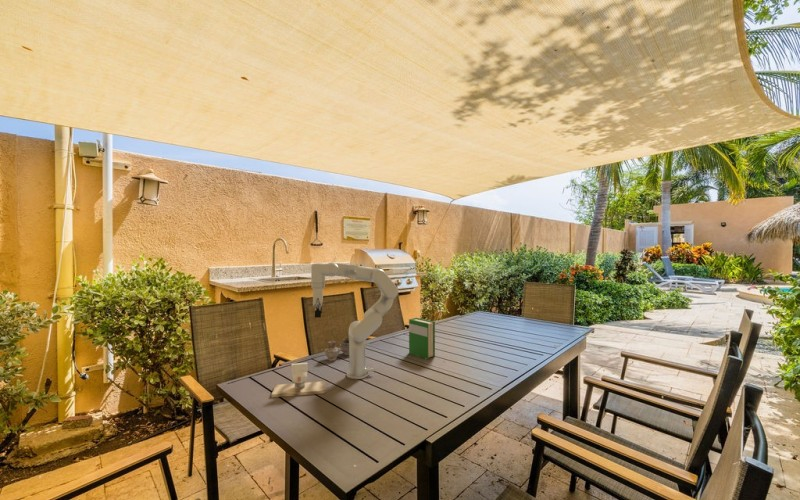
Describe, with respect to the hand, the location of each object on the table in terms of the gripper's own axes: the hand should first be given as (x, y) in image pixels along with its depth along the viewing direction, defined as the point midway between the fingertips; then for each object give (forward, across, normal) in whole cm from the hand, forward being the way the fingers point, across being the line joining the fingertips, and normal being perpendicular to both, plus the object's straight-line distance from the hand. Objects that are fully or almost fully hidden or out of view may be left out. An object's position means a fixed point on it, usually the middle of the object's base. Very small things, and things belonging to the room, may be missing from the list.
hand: (318, 315), depth 192 cm
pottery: (+37, -38, +13) cm, 54 cm away
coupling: (+31, +14, -9) cm, 35 cm away
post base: (+36, +13, -9) cm, 40 cm away
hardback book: (+37, -31, +68) cm, 83 cm away
